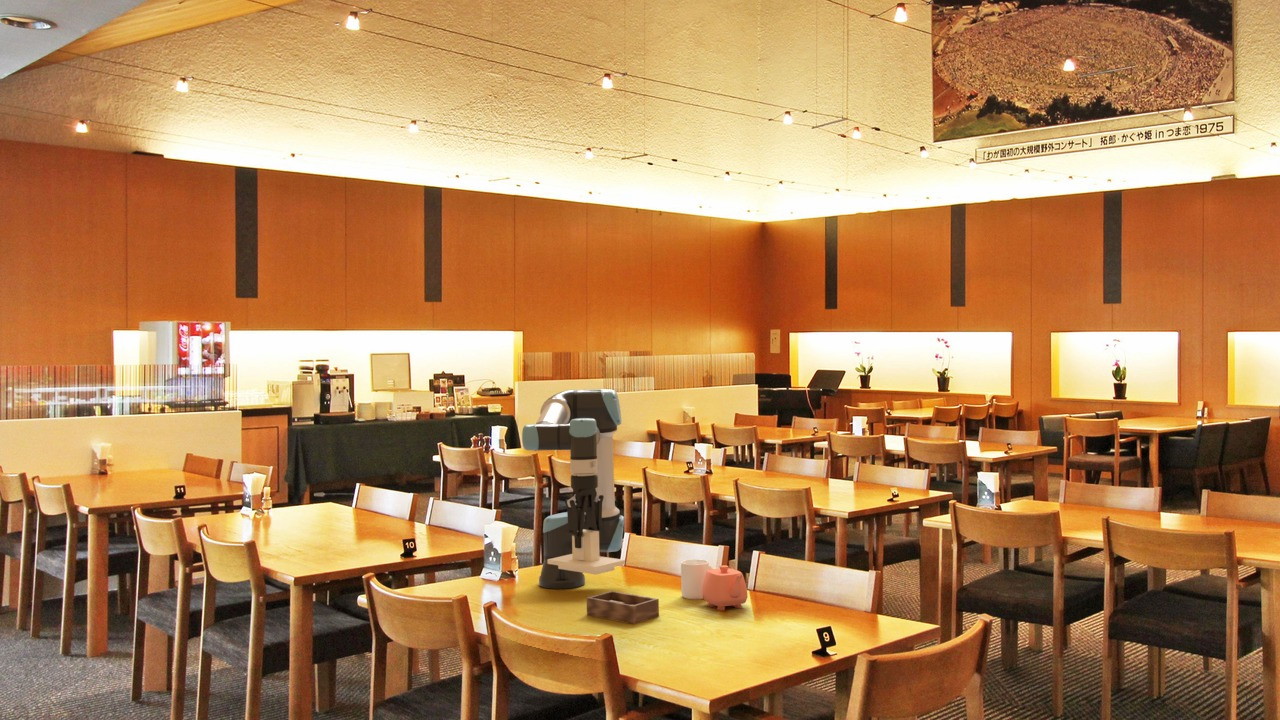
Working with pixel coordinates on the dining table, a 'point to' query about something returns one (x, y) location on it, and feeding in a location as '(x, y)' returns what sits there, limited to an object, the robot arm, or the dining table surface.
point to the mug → (693, 577)
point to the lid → (587, 557)
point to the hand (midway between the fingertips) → (585, 558)
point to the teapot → (724, 588)
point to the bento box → (623, 607)
